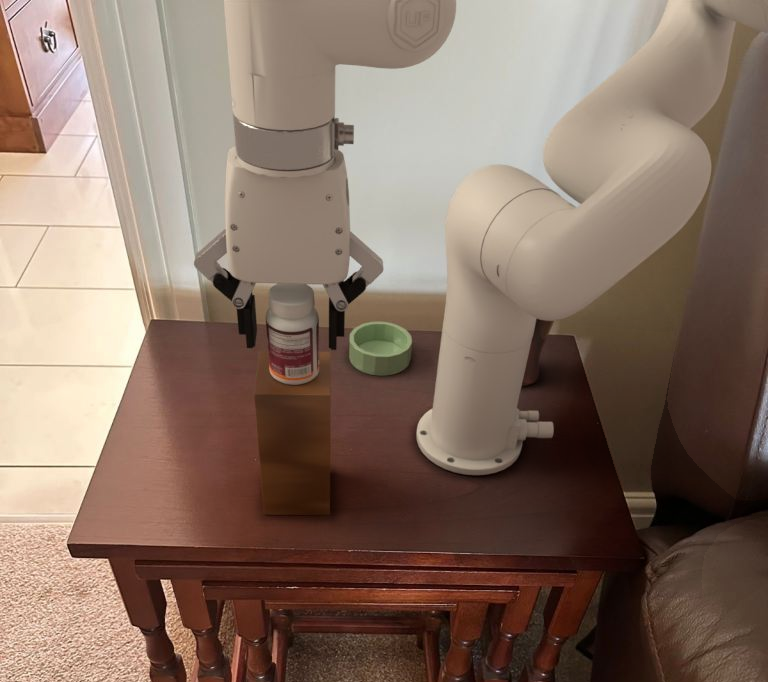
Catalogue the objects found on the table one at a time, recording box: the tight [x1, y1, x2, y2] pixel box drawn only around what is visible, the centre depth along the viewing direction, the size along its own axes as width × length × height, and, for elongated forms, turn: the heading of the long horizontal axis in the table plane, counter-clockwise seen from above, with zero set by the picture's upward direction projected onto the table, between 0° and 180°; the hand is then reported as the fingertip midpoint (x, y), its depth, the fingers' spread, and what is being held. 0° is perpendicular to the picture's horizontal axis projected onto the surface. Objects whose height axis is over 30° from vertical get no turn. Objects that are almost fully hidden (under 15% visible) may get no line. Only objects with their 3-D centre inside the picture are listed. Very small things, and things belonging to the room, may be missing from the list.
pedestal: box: [253, 350, 332, 516], centre depth 80 cm, size 7×7×16 cm
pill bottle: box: [265, 283, 320, 385], centre depth 71 cm, size 5×5×8 cm
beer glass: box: [521, 318, 555, 387], centre depth 98 cm, size 7×7×15 cm
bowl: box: [348, 321, 413, 377], centre depth 103 cm, size 8×8×3 cm
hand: (292, 339), depth 71 cm, fingers open, 6 cm apart
